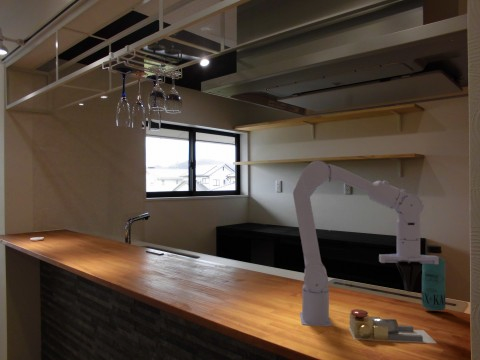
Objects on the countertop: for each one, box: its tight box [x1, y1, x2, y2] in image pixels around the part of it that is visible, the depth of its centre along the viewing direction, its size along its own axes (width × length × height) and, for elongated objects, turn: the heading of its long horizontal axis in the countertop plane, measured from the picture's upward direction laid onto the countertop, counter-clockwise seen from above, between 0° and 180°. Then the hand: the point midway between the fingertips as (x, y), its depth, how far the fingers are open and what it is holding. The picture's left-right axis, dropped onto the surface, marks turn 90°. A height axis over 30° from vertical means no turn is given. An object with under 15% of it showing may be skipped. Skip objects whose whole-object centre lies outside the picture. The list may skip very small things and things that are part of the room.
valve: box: [349, 308, 389, 342], centre depth 92 cm, size 10×8×5 cm
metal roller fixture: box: [347, 324, 437, 344], centre depth 92 cm, size 8×19×2 cm, turn 84°
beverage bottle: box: [420, 244, 447, 312], centre depth 110 cm, size 6×7×20 cm
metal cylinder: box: [371, 318, 399, 334], centre depth 91 cm, size 4×6×4 cm, turn 84°
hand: (408, 290), depth 97 cm, fingers closed
